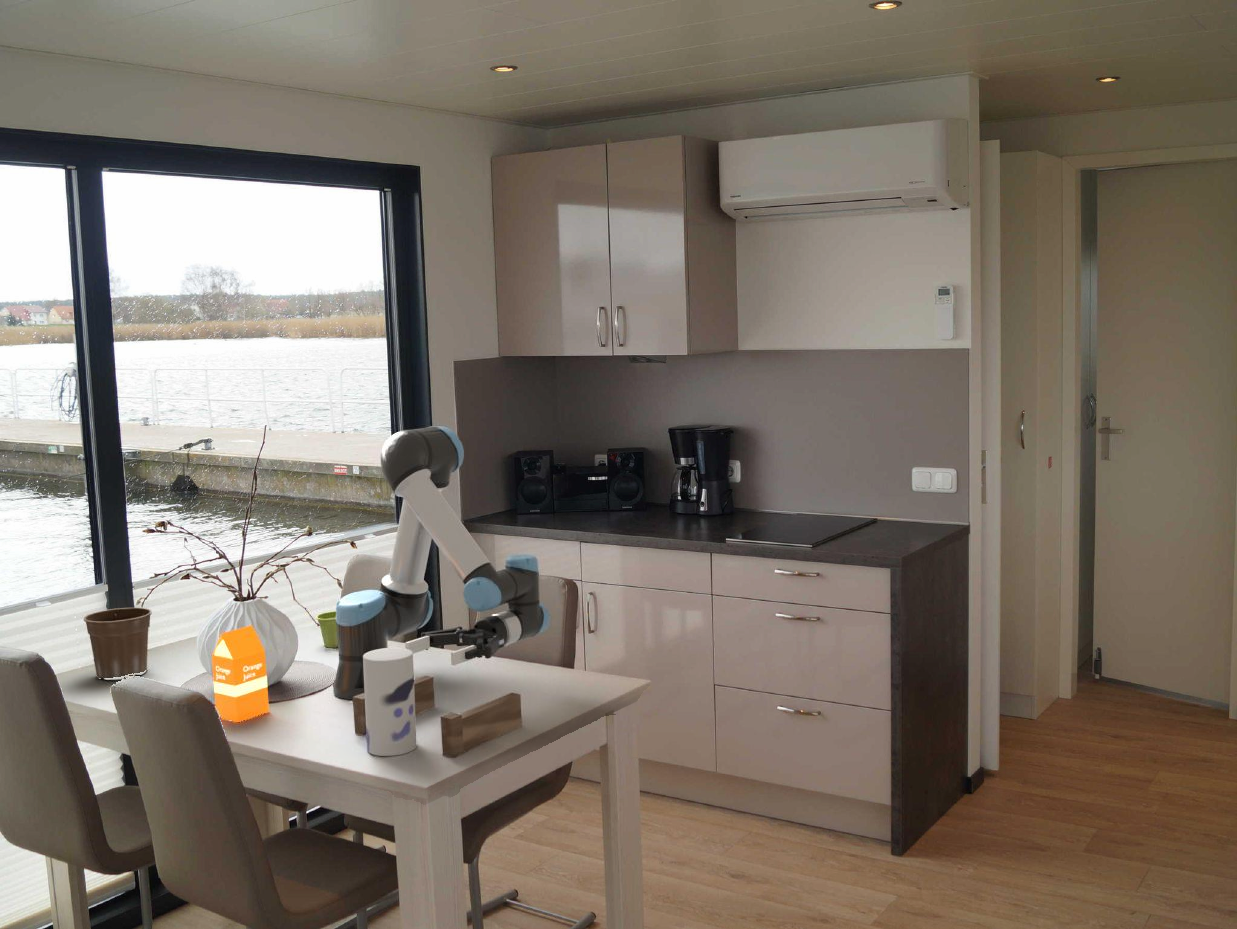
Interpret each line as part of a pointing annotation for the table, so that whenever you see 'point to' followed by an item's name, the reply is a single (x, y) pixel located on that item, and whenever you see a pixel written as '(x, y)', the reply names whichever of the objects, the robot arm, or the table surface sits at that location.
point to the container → (389, 701)
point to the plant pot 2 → (328, 628)
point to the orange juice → (240, 675)
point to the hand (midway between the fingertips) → (429, 653)
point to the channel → (458, 718)
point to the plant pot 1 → (119, 640)
